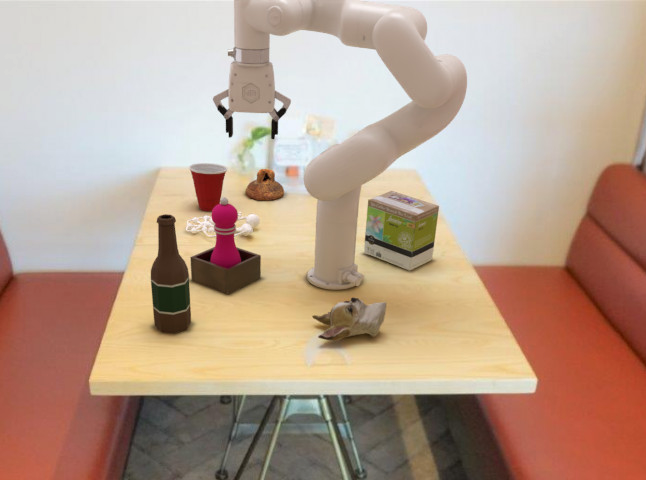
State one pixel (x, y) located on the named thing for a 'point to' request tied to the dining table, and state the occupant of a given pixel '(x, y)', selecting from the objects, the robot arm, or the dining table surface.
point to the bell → (265, 186)
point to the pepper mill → (225, 235)
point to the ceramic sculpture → (352, 319)
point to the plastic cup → (208, 184)
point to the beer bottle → (170, 281)
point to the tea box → (400, 229)
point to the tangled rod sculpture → (245, 229)
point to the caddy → (226, 271)
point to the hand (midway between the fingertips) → (251, 136)
